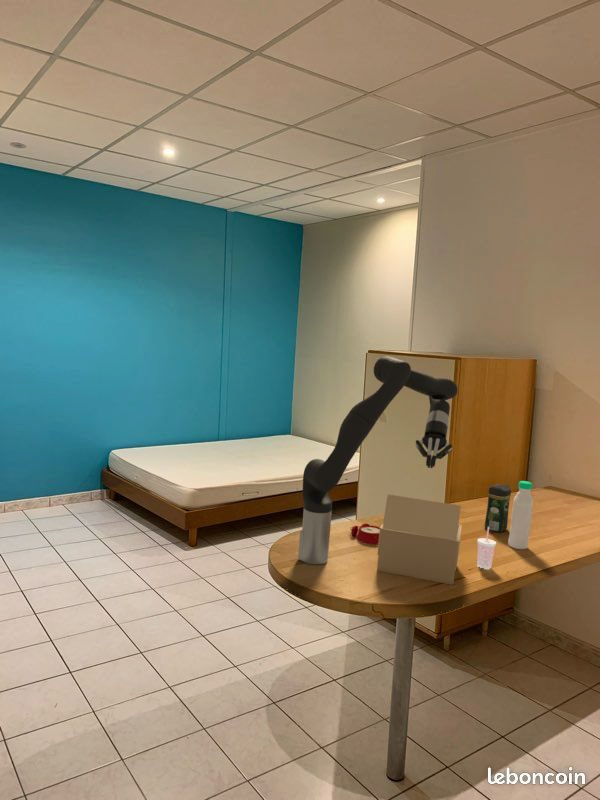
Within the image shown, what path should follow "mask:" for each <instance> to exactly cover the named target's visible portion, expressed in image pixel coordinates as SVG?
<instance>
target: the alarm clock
mask: <svg viewBox="0 0 600 800" xmlns="http://www.w3.org/2000/svg"><path fill="white" fill-rule="evenodd" d="M380 527H381V526H380ZM380 527H379V526H376V525H370V524H368V523H363V524H361V526H358V525H354V526H351V527H350V534H351V536H352V537H353V538H354V536H356V537H355V538H356V540H357V541H359V542H361V543H364V544H370V545H378V543H379V532H380Z"/></svg>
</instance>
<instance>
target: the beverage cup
mask: <svg viewBox="0 0 600 800" xmlns="http://www.w3.org/2000/svg"><path fill="white" fill-rule="evenodd" d="M489 533H490V530H489V527H488V529H486V537H484V538H483V537H481V538H480V537H479V538H477V540H476V541H477V558H476V559H477V560H476V566H477V568H479V567H480V568H479V569H481V568H484V569H483V570H491V569H492V563H493V559H494V553H495V547H496V546H497V541H495V540H493V539H491V538H489ZM490 568H491V569H490Z"/></svg>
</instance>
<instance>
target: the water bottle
mask: <svg viewBox="0 0 600 800" xmlns="http://www.w3.org/2000/svg"><path fill="white" fill-rule="evenodd" d="M532 489H533V483H532V482H530V481H526V480H520V481H519V482H518V492H517V493H516V495H515V496H514V498H513V500H512V501H513V505H512V510H511V518H510V527H509V536H508V542H507V544H508V546H509V547H511V548H513V549H516V550H526V549H528V548H529V537H530V532H531V531H530V530H531V529H530V528H531V525H532V524H531V523H532V518H533V506H534V499H533V497H532V494H531V491H532Z"/></svg>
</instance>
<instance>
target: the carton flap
mask: <svg viewBox="0 0 600 800" xmlns="http://www.w3.org/2000/svg"><path fill="white" fill-rule="evenodd" d="M461 506H462V505H459V504H452V503H447V502H441V501H440V502H439V501H432V500H428V499H427V500H426V499H419V498H413V497H409V496H408V497H406V496H400V495H393V494H387V497H386V502H385V510H384V515H383V523H382V524H383V529H388V530H394V531H400V532H406V533H412V534H418V535H424V536H430V537H435V538H441V539H447V540H453V541H457V532H458V524H459V522H460V514H461Z"/></svg>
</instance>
